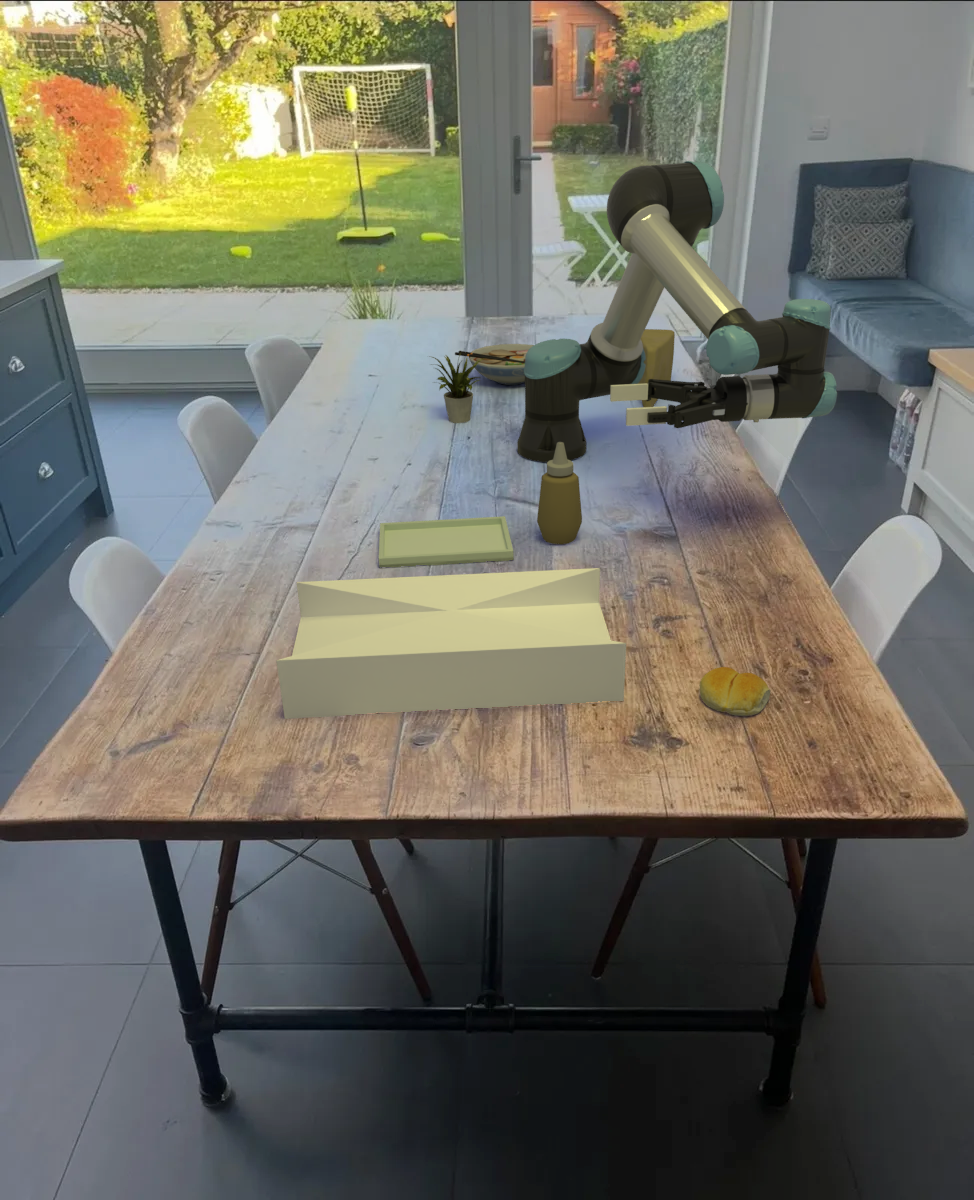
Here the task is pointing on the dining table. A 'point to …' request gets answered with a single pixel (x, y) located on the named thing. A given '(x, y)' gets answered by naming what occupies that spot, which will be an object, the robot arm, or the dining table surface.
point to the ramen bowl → (500, 362)
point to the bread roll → (734, 691)
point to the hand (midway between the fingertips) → (618, 404)
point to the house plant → (458, 391)
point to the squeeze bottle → (559, 500)
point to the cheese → (657, 357)
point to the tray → (444, 542)
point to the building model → (450, 644)
